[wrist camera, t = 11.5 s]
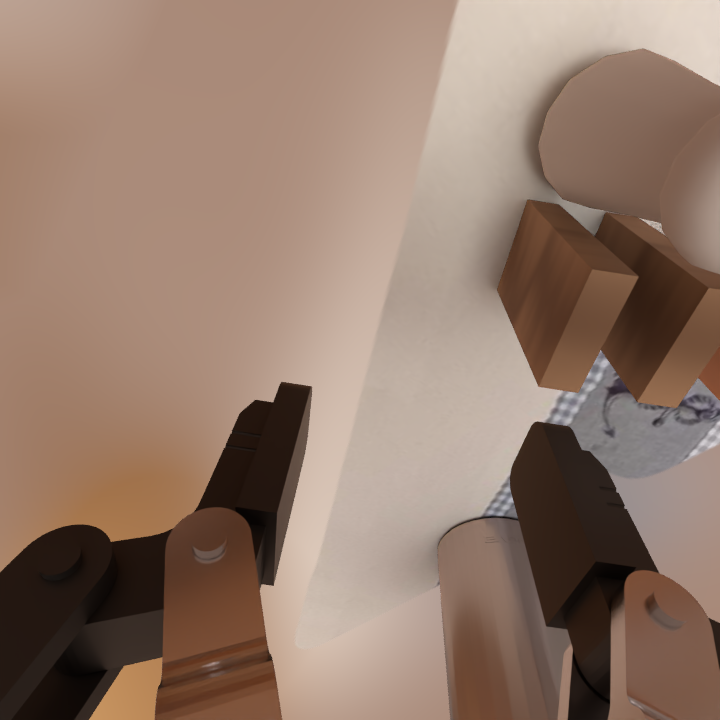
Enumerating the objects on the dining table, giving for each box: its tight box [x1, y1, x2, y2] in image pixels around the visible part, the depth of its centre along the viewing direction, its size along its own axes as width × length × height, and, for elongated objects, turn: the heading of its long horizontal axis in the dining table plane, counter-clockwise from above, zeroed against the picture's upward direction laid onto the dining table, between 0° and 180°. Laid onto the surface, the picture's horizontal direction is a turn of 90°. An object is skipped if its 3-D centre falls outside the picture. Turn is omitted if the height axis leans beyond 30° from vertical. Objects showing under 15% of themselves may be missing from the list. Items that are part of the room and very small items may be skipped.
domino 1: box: [497, 200, 639, 393], centre depth 20 cm, size 5×2×9 cm, turn 172°
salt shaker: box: [538, 49, 720, 274], centre depth 15 cm, size 6×6×13 cm
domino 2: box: [595, 212, 720, 408], centre depth 20 cm, size 5×2×9 cm, turn 172°
